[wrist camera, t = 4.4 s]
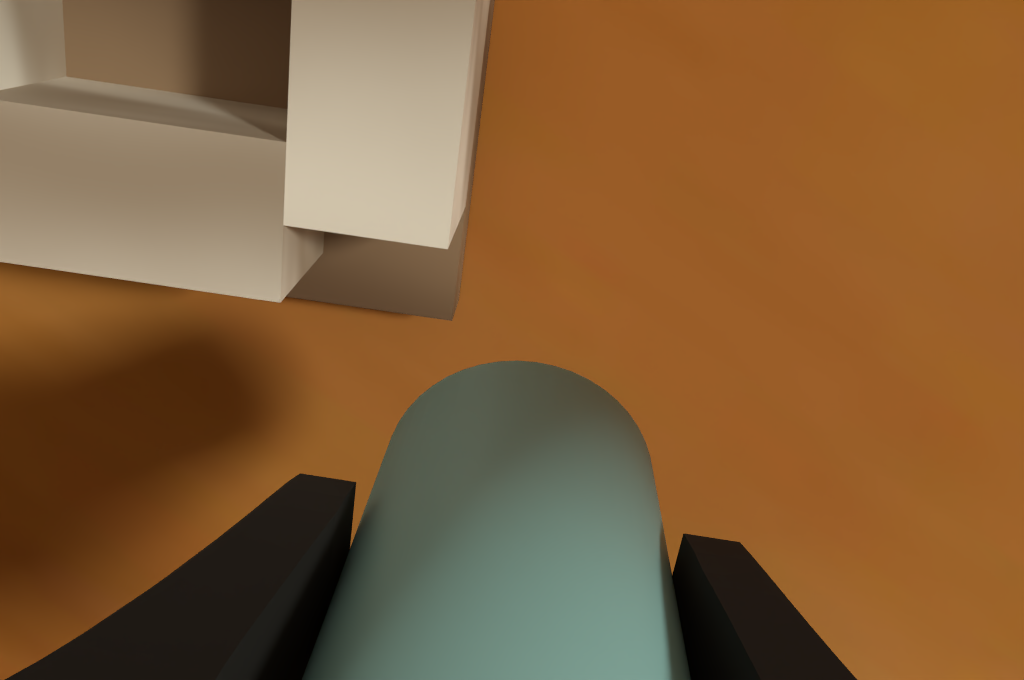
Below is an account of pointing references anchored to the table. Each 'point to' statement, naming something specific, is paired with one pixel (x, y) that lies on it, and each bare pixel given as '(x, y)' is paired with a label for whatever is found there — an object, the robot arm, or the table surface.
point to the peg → (508, 542)
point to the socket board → (245, 144)
